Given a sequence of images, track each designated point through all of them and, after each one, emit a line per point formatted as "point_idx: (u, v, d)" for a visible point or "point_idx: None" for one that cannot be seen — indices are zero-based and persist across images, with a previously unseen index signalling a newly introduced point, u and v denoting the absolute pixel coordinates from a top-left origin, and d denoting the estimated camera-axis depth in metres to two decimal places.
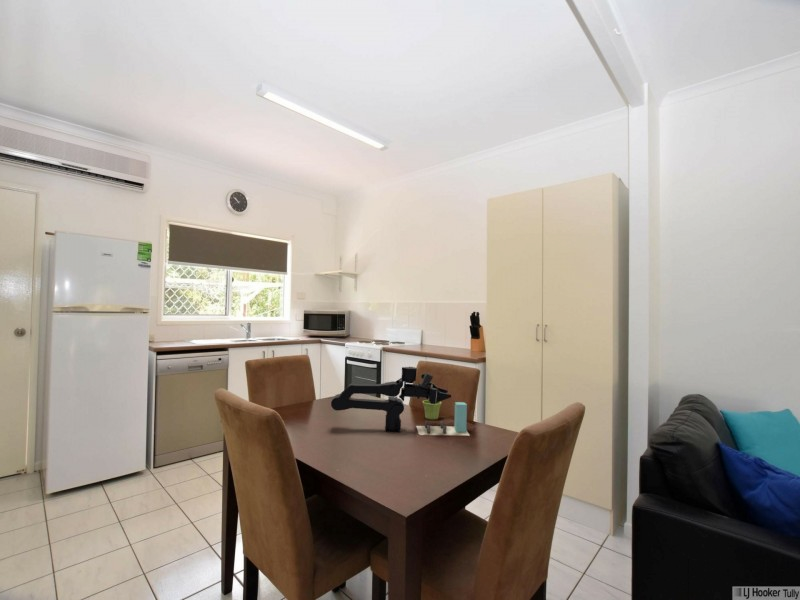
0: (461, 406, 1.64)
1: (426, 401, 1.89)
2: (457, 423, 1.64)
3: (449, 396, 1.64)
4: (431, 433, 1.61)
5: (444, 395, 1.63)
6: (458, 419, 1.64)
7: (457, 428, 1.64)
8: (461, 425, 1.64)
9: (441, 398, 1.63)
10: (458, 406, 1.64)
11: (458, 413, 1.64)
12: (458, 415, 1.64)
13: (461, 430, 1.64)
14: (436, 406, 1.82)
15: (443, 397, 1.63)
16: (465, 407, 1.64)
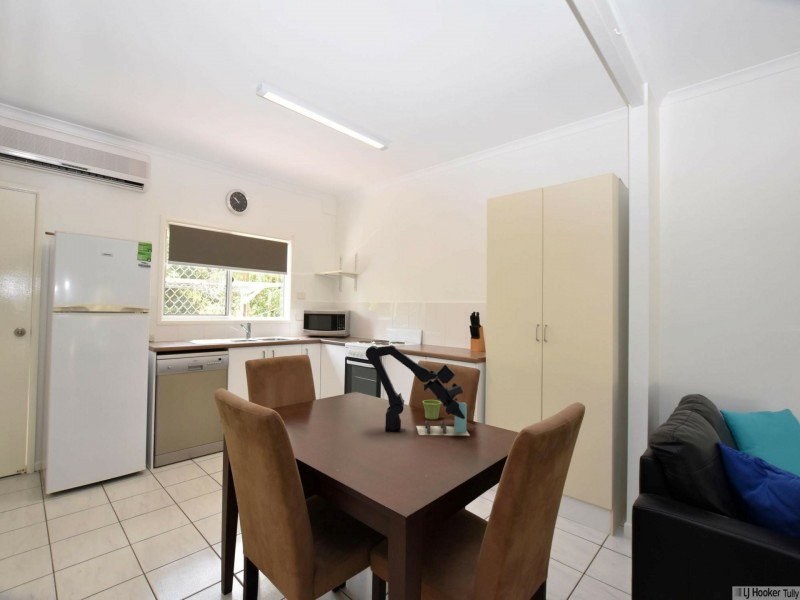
0: (461, 406, 1.64)
1: (426, 401, 1.89)
2: (457, 423, 1.64)
3: (462, 417, 1.63)
4: (431, 433, 1.61)
5: (459, 413, 1.63)
6: (458, 419, 1.64)
7: (457, 429, 1.64)
8: (461, 425, 1.64)
9: (455, 413, 1.62)
10: None
11: None
12: None
13: (461, 430, 1.64)
14: (436, 406, 1.82)
15: (457, 414, 1.63)
16: (465, 407, 1.64)
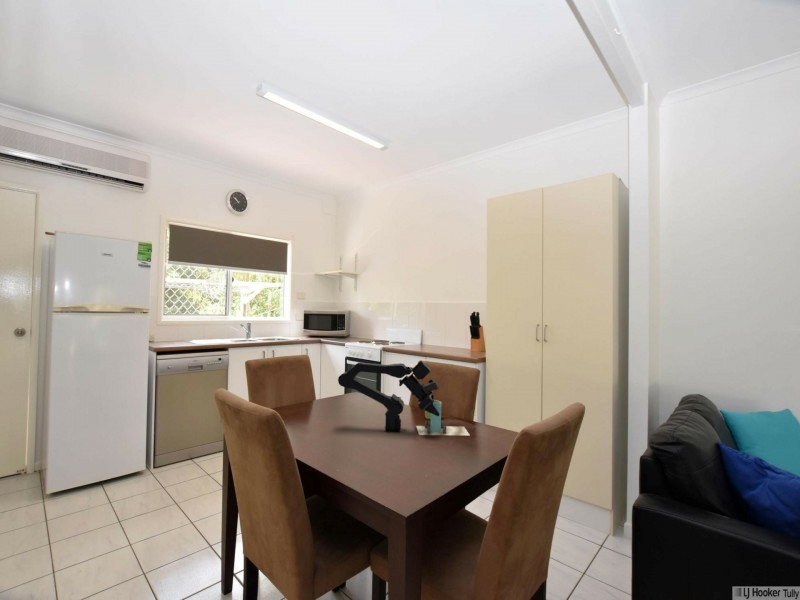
0: (435, 406, 1.63)
1: None
2: (431, 423, 1.63)
3: (437, 414, 1.61)
4: (431, 433, 1.61)
5: (434, 410, 1.61)
6: (432, 419, 1.63)
7: (432, 428, 1.63)
8: (435, 425, 1.63)
9: (430, 410, 1.61)
10: None
11: None
12: (432, 415, 1.63)
13: (435, 430, 1.63)
14: None
15: (432, 411, 1.61)
16: (439, 406, 1.63)
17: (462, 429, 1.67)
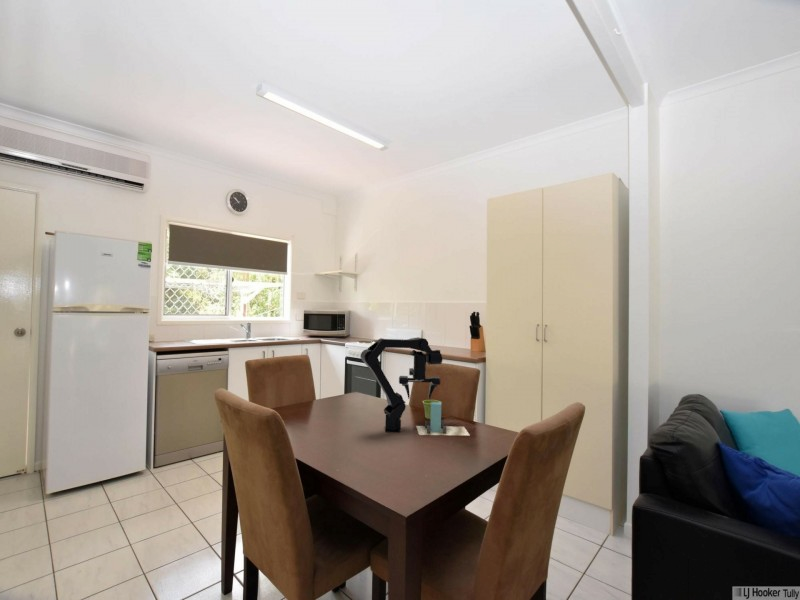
0: (435, 406, 1.63)
1: (426, 401, 1.89)
2: (431, 423, 1.63)
3: None
4: (431, 433, 1.61)
5: None
6: (432, 419, 1.63)
7: (432, 428, 1.63)
8: (435, 425, 1.63)
9: None
10: (432, 405, 1.64)
11: (432, 413, 1.63)
12: (432, 415, 1.63)
13: (435, 430, 1.63)
14: None
15: None
16: (439, 406, 1.63)
17: (462, 429, 1.67)
